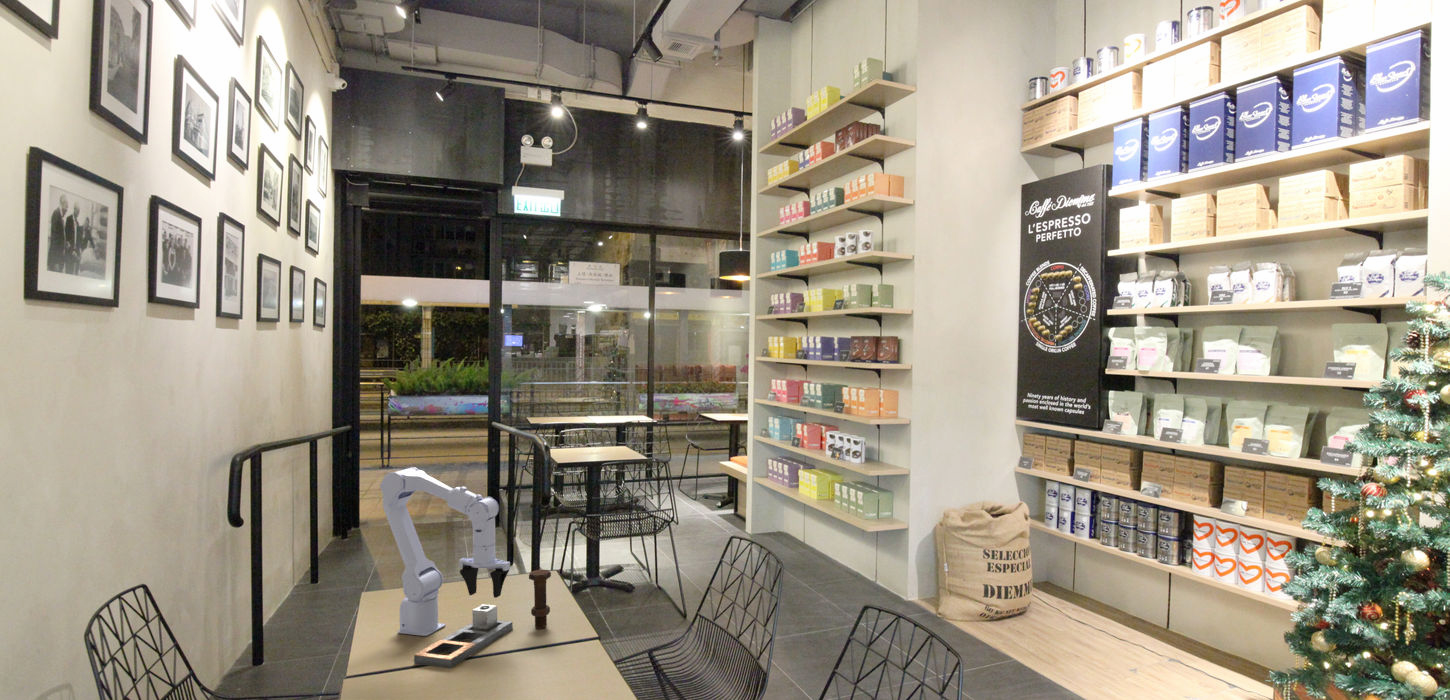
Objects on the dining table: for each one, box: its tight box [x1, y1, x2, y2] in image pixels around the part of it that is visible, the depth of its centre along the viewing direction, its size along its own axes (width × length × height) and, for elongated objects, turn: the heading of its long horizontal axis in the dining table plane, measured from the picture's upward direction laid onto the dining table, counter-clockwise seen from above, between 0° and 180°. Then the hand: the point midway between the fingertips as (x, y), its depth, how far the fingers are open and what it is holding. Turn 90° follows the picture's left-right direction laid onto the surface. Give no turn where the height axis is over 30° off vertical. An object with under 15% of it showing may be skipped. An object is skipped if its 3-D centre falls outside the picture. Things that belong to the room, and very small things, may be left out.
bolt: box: [528, 569, 552, 629], centre depth 199 cm, size 6×5×15 cm
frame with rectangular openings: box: [413, 619, 514, 669], centre depth 187 cm, size 10×26×2 cm, turn 163°
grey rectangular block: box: [472, 603, 498, 632], centre depth 195 cm, size 4×4×7 cm
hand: (484, 595), depth 195 cm, fingers open, 7 cm apart
